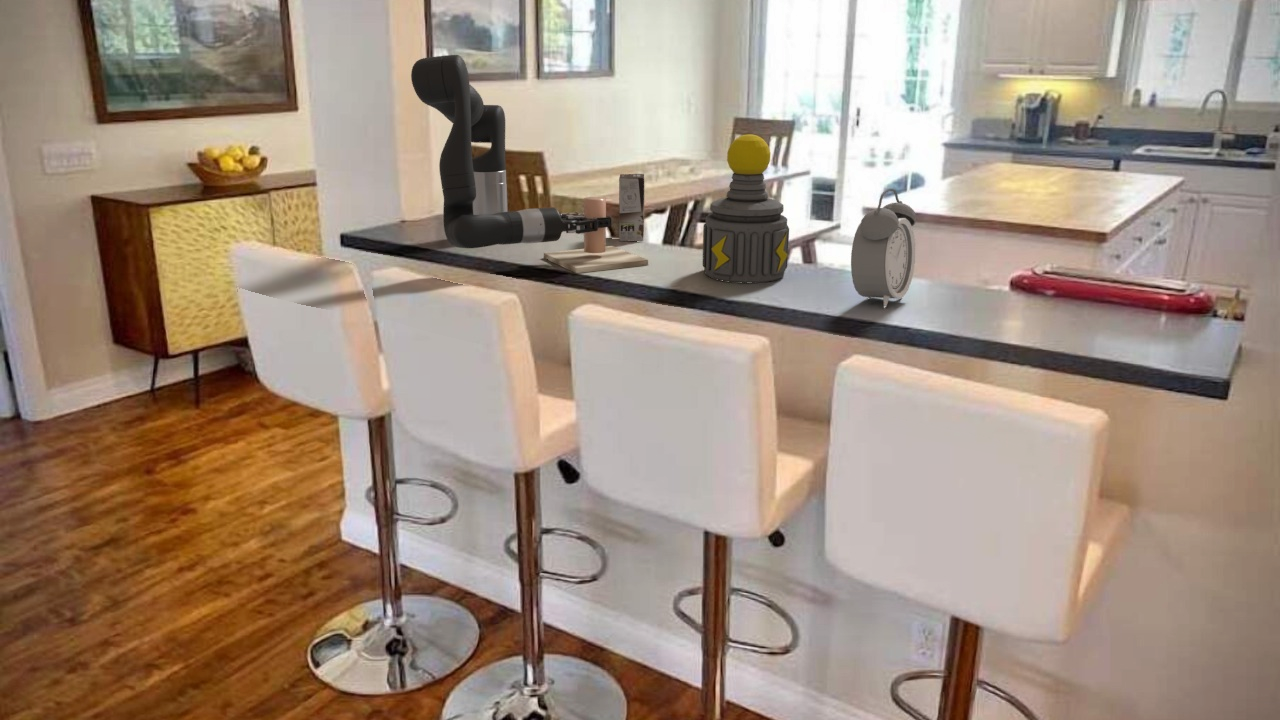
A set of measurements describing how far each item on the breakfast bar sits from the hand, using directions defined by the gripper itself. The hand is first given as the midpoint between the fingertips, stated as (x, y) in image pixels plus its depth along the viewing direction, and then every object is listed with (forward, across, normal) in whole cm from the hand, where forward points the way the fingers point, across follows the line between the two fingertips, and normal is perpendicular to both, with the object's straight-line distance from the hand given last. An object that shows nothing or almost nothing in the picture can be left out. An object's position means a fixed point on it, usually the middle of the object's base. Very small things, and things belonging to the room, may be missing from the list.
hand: (604, 219), depth 219 cm
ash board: (-3, 0, +9) cm, 10 cm away
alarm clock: (+30, -59, +10) cm, 67 cm away
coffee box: (+18, +21, +10) cm, 30 cm away
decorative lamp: (+20, -27, +10) cm, 35 cm away
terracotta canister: (-3, 0, +7) cm, 7 cm away
